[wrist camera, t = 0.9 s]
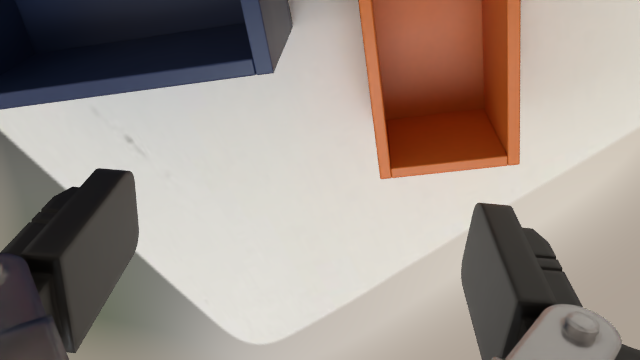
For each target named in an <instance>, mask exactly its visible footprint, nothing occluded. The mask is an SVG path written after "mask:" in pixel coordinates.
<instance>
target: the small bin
mask: <svg viewBox="0 0 640 360" xmlns="http://www.w3.org/2000/svg"><path fill="white" fill-rule="evenodd" d="M358 2H359V10H360V18H361V26H362V34H363V42H364V50H365V58H366V66H367V74H368V82H369V91H370V99H371V107H372V115H373V123H374V131H375V139H376V147H377V155H378V163H379V171H380V178H381V179H387V178H391V177H392V178H396V177H405V176H415V175H424V174H433V173H443V172H452V171H461V170H471V169H480V168H489V167H499V166H507V164H508V165H517V164H519V163H520V0H358Z"/></svg>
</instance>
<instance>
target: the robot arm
mask: <svg viewBox="0 0 640 360" xmlns="http://www.w3.org/2000/svg"><path fill="white" fill-rule="evenodd" d="M138 235H139V226H138V215H137V203H136V192H135V181H134V176H133V174H132V172H130V171H123V170H112V169H101V168H98V169H96V170H95V171H94V172H93V173H92V174H91V175H90V177H89V178H88V179H87V180H86V181H85V182H84V183H83V184H82V186H81V187H71V188H69V189H67V190H66V191H64V192H62V193H60V194H58V195H56V196H54V197H53V198H52V199H51V200H50V201H49V202H48V203H47V204H46V205H45V206H44V207H43V208H42V211H41V212H39V213H38V214H37V215H36V216H35V217H34V218H33V219H32V222H29V223H28V224H27V225H26V226H25V227H24V228H23V229H22V230H21V231H20V233H19V234H18V235H17V236H16V237H15V238H14V239H13V240H12V241H11V242H10V243H9V244H8V245H7V246H6V247H5V248H4V249H3V250H2V251H1V253H0V360H69V358H68V356H67V353H66V352H70V353H76V351H77V350H78V348H79V346H80V345H81V343H82V341H83V339H84V338H85V336H86V334H87V333H88V331H89V329H90V328H91V326H92V324H93V322H94V321H95V319H96V317H97V316H98V314H99V312H100V311H101V309H102V307H103V306H104V304H105V302H106V301H107V299H108V297H109V295H110V294H111V292H112V290H113V289H114V287H115V285H116V283H117V282H118V280H119V279H120V277H121V275H122V273H123V272H124V270H125V268H126V267H127V265H128V263H129V262H130V260H131V258H132V256H133V255H134V253H135V250H136V247H137V243H138ZM461 278H462V286H463V289H464V293H465V297H466V301H467V304H468V308H469V312H470V316H471V320H472V324H473V327H474V331H475V335H476V339H477V343H478V346H479V350H480V354H481V357H482V360H640V350H637V349H634V348H631V347H628V346H626V345H623V344H622V340H621V337H620V334H619V333H618V331H617V330H616V328H615V327H614V326H613V325H612V324H611V323H610V322H609V321H607V320H606V319H605V318H604V317H602V316H600V315H599V314H597V313H595V312H593V311H591V310H588V309H586V308H583V306H582V305H581V303H580V301H579V299H578V297H577V295H576V293H575V292H574V290H573V288H572V286H571V284H570V282H569V280H568V279H567V277H566V275H565V273H564V272H562V267H561V265H560V263H559V261H558V260H556V256H555V254H554V252H553V250H552V248H551V246H550V244H549V243H548V242H547V241H546V240H545V239H544V238H543V237H542V236H540V235H539V234H538V233H537V232H536V231H535V230H533V229H530V228H522V227H521V225H520V223H519V221H518V219H517V217H516V215H515V213H514V211H513V208H512V207H511V206H508V205H497V204H486V203H477V204H476V206H475V208H474V211H473V215H472V220H471V224H470V228H469V233H468V237H467V242H466V246H465V250H464V255H463V260H462V269H461Z"/></svg>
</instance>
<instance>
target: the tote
mask: <svg viewBox="0 0 640 360" xmlns="http://www.w3.org/2000/svg"><path fill="white" fill-rule="evenodd" d="M292 27H293V26H292V20H291V14H290V9H289V3H288V0H0V109H7V108H15V107H22V106H29V105H37V104H44V103H52V102H59V101H67V100H74V99H81V98H89V97H96V96H104V95H111V94H119V93H126V92H133V91H141V90H148V89H156V88H163V87H171V86H178V85H185V84H193V83H200V82H208V81H215V80H222V79H230V78H237V77H245V76H252V75H256V74H257V75H262V74H269V73H274V70H275V68H276V65H277V63H278V61H279V58H280V56H281V54H282V51H283V49H284V47H285V44H286V42H287V39H288V37H289V35H290V32H291V29H292Z"/></svg>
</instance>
